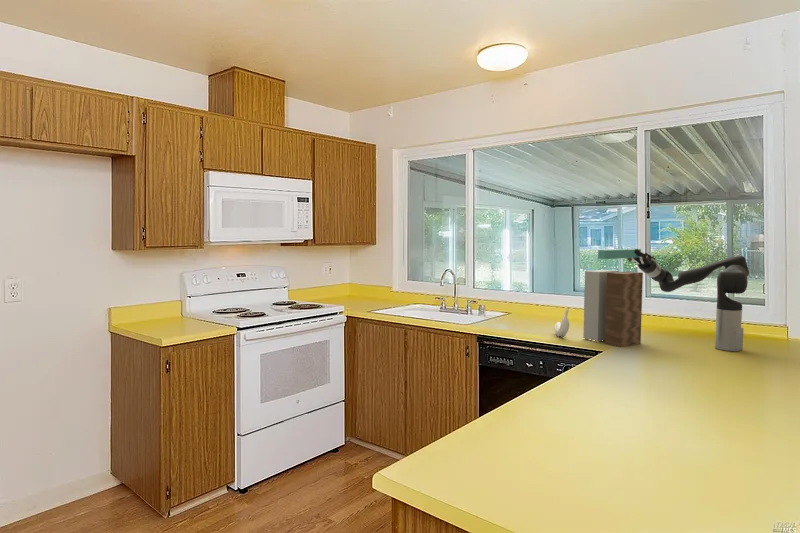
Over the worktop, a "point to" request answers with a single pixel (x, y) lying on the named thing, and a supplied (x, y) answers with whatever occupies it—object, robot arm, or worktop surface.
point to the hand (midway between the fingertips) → (631, 250)
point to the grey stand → (595, 304)
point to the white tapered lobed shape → (562, 326)
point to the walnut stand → (623, 308)
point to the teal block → (617, 254)
